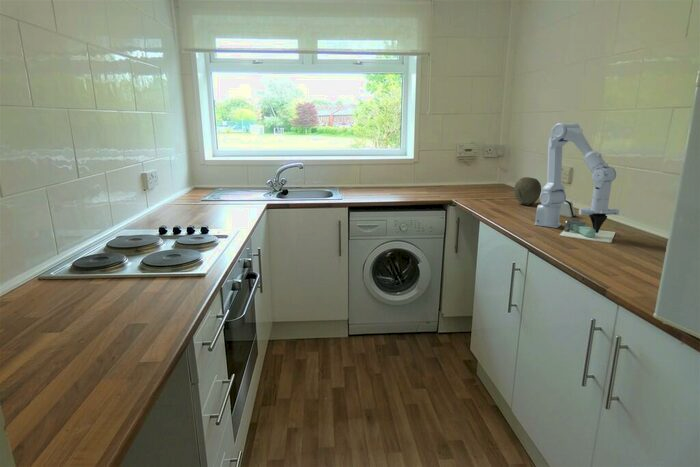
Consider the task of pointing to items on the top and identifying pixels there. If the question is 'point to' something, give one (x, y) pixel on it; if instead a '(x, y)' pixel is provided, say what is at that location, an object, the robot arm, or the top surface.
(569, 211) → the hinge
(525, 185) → the cantaloupe
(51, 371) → the top surface
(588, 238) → the plate
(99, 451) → the top surface
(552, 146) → the robot arm
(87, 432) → the top surface
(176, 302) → the top surface
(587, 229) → the link
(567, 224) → the keeper
